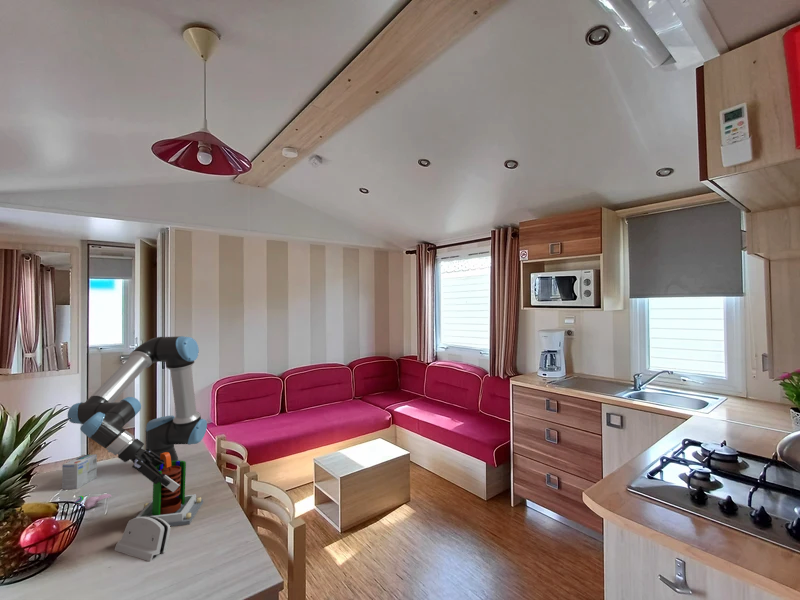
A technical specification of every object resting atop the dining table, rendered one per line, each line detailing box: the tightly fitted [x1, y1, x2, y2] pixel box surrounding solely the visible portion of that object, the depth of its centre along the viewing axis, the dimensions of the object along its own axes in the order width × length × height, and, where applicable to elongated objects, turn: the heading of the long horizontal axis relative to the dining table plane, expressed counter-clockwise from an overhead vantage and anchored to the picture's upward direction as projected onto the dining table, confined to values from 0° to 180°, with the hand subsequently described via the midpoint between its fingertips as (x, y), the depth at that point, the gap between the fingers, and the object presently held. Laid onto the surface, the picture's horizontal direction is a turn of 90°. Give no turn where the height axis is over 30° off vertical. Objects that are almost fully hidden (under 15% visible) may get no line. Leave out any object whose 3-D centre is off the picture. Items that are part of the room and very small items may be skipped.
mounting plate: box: [124, 493, 204, 530], centre depth 132 cm, size 15×20×4 cm
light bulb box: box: [61, 453, 98, 490], centre depth 159 cm, size 11×7×11 cm, turn 2°
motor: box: [151, 452, 187, 516], centre depth 133 cm, size 10×9×20 cm
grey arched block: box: [114, 516, 172, 562], centre depth 114 cm, size 17×5×10 cm, turn 70°
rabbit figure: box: [74, 493, 113, 510], centre depth 138 cm, size 6×6×15 cm
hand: (178, 484), depth 134 cm, fingers closed on motor, 7 cm apart
